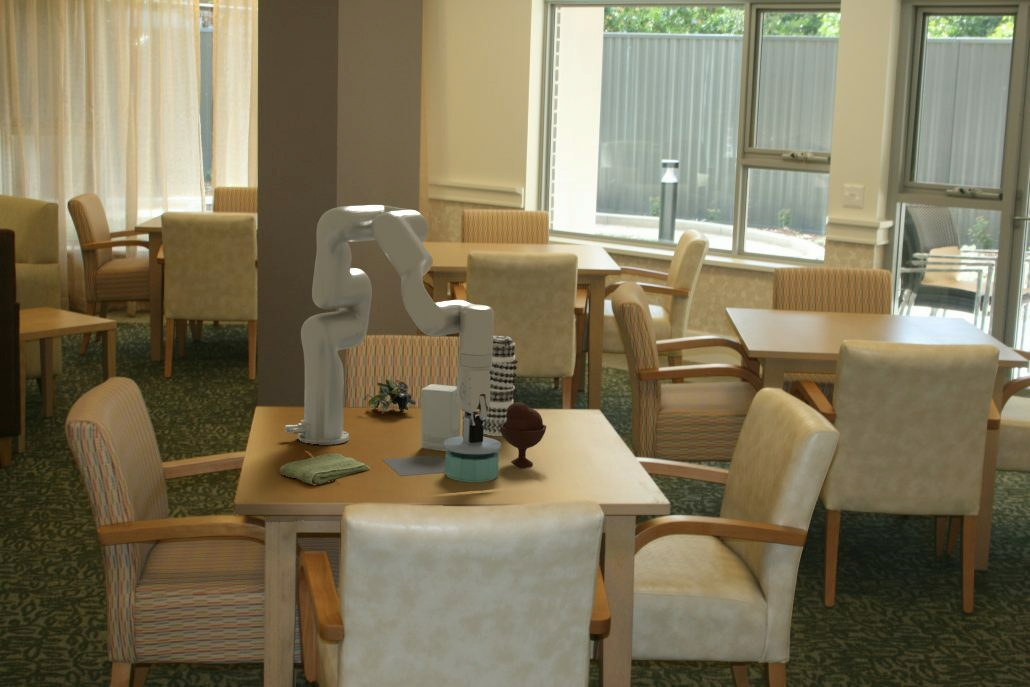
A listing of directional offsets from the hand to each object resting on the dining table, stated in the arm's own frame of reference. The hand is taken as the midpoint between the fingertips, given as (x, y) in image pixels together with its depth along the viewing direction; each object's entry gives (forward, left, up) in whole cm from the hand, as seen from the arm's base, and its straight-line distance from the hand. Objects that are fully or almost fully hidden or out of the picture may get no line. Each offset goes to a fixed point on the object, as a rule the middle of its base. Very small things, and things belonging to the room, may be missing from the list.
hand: (472, 439), depth 286 cm
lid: (0, 0, -2) cm, 2 cm away
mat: (-9, +10, -9) cm, 16 cm away
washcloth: (-31, +11, -10) cm, 35 cm away
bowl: (0, 0, -9) cm, 9 cm away
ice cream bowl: (+15, +6, -9) cm, 18 cm away
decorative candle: (+21, +36, -9) cm, 43 cm away
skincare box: (+1, +24, -9) cm, 26 cm away
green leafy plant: (0, +62, -9) cm, 63 cm away
